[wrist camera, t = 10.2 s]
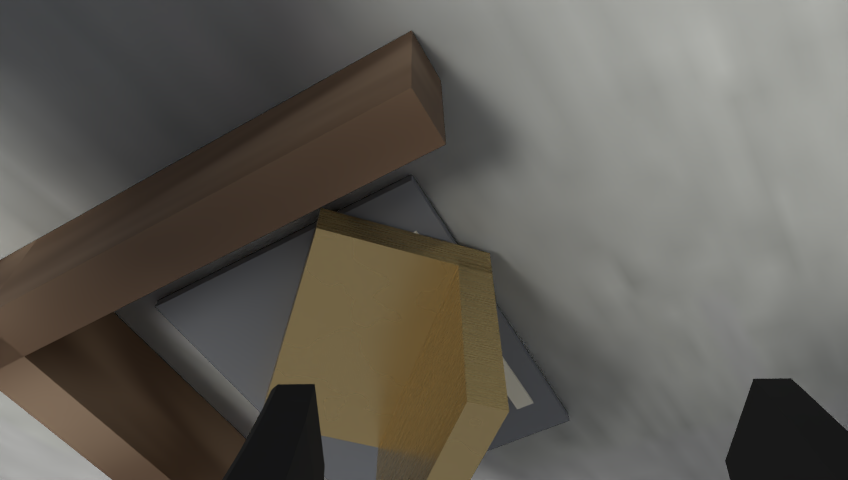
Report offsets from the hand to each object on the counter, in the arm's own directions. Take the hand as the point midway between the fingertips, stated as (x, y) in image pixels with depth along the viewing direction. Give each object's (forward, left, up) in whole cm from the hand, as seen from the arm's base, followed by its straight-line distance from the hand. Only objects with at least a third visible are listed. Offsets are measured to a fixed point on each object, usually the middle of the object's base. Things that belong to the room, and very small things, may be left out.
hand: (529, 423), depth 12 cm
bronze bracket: (+4, -6, -9) cm, 11 cm away
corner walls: (+3, -7, -9) cm, 12 cm away
